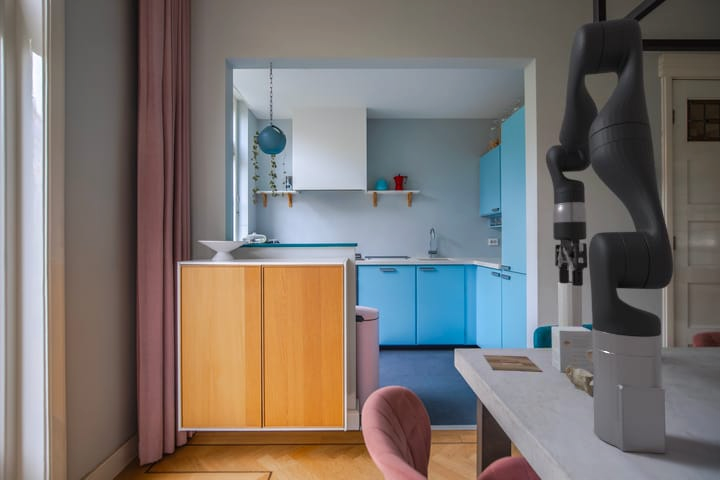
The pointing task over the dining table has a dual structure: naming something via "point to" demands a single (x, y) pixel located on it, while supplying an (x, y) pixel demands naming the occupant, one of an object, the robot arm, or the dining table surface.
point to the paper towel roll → (569, 305)
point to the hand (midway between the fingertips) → (570, 284)
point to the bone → (581, 376)
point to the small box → (571, 348)
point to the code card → (511, 363)
